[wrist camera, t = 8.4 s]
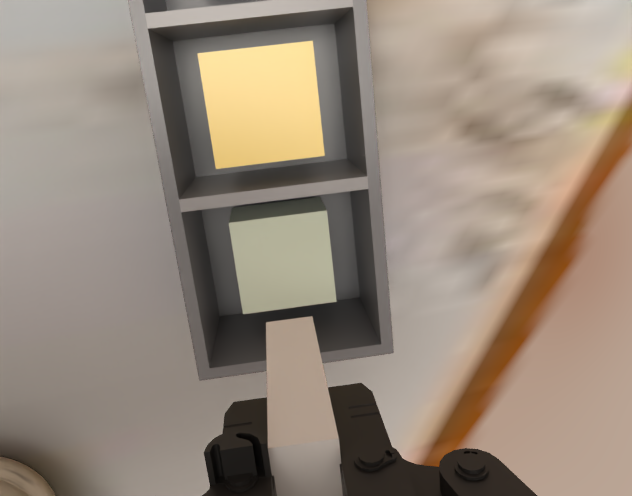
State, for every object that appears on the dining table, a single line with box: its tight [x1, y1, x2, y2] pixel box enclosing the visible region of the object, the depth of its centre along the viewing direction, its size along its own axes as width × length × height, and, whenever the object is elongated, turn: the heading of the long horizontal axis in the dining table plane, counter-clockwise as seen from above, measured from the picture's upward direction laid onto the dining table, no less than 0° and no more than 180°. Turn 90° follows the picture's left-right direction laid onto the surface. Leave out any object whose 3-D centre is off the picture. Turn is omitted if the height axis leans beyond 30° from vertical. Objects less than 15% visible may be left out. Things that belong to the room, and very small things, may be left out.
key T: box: [197, 41, 325, 169], centre depth 27 cm, size 5×5×4 cm
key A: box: [229, 197, 337, 314], centre depth 31 cm, size 5×5×4 cm
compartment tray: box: [128, 0, 394, 380], centre depth 27 cm, size 10×34×7 cm, turn 6°
